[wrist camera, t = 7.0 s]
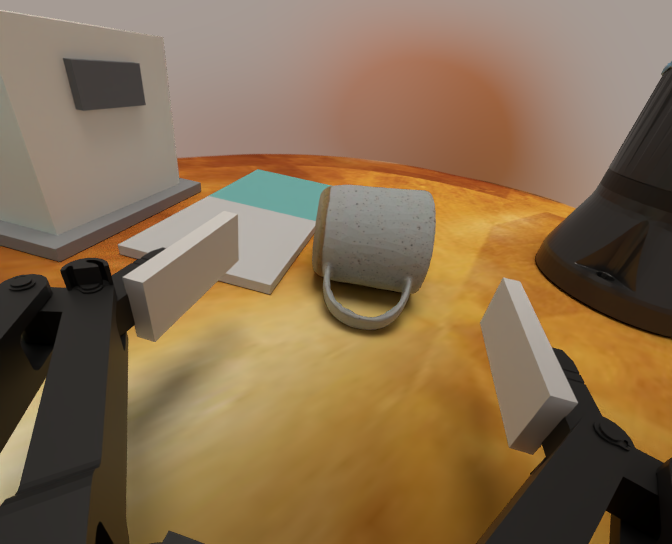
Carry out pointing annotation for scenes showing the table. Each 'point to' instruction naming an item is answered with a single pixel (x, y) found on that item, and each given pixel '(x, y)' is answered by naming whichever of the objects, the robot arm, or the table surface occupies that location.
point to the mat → (247, 226)
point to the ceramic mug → (373, 244)
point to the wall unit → (82, 134)
